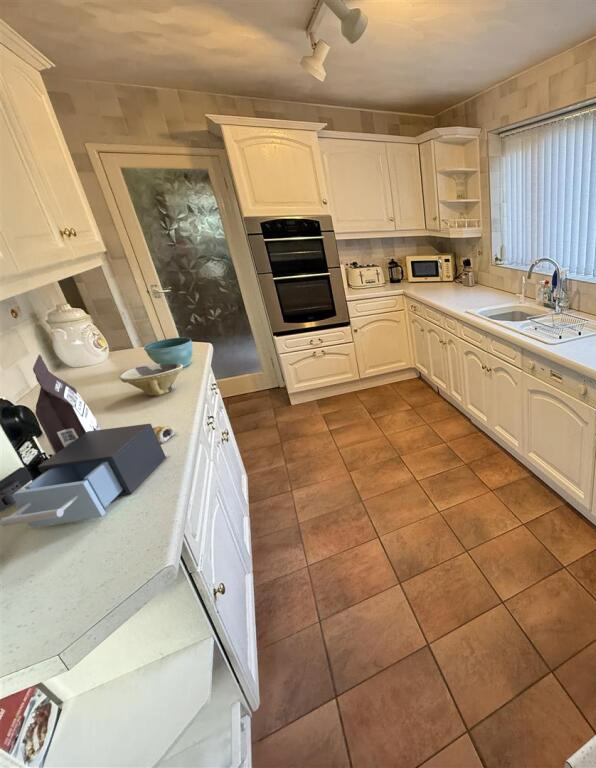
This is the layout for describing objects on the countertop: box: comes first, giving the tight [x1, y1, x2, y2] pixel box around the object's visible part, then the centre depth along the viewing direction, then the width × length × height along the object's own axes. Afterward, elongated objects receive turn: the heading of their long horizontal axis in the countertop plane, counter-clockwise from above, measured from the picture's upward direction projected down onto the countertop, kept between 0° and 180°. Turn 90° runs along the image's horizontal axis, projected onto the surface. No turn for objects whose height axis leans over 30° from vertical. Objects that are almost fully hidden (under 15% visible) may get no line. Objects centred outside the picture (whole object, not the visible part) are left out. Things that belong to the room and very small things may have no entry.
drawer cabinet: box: [37, 423, 167, 497], centre depth 97 cm, size 16×14×11 cm
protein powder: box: [32, 354, 102, 455], centre depth 104 cm, size 16×9×28 cm, turn 44°
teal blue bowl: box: [143, 337, 194, 368], centre depth 172 cm, size 16×16×11 cm
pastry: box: [152, 425, 176, 444], centre depth 116 cm, size 9×7×4 cm
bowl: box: [118, 363, 184, 397], centre depth 147 cm, size 18×18×10 cm
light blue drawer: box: [0, 460, 124, 529], centre depth 86 cm, size 21×13×9 cm, turn 15°
